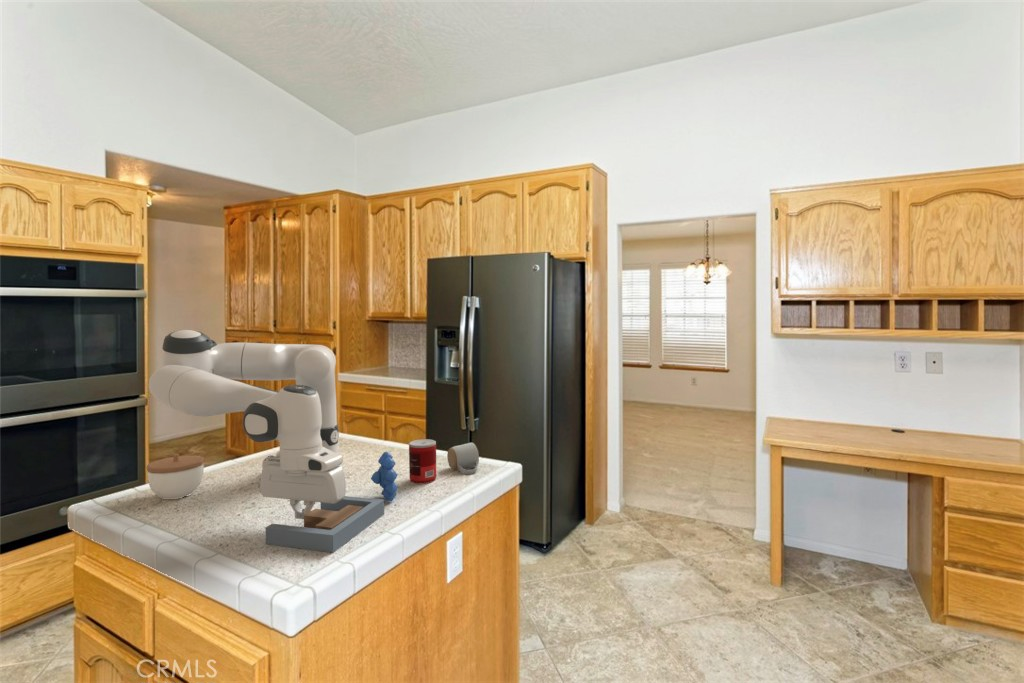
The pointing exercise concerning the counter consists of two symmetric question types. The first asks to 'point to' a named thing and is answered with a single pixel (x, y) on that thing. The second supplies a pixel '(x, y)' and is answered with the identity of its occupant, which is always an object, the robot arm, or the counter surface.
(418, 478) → the canned food
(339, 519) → the t block
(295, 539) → the bay
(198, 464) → the lidded bowl
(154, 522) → the counter surface
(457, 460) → the ceramic mug
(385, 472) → the grapes
